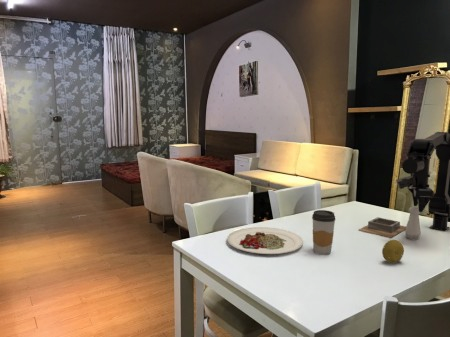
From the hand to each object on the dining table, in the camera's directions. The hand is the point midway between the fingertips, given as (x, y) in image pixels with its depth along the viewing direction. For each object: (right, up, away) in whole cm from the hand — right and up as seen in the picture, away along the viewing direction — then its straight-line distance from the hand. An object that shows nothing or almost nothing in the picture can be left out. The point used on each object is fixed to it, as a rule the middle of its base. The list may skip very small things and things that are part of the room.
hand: (417, 208), depth 144 cm
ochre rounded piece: (-20, -16, -21) cm, 33 cm away
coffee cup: (-42, -15, -11) cm, 46 cm away
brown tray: (-7, -11, +16) cm, 20 cm away
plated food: (-62, -14, -2) cm, 64 cm away
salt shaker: (0, -13, +4) cm, 14 cm away
